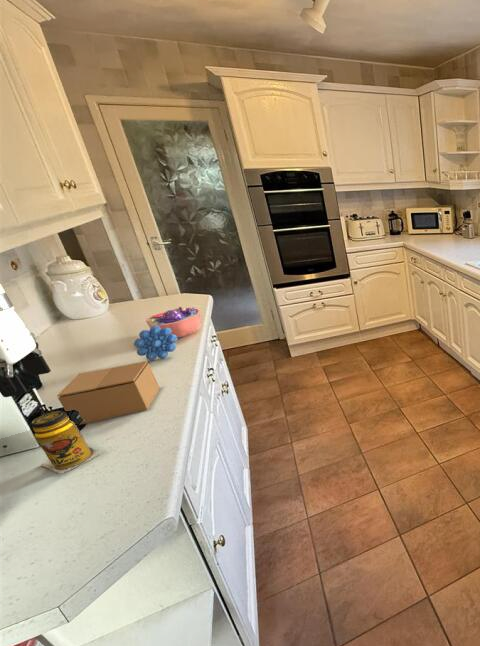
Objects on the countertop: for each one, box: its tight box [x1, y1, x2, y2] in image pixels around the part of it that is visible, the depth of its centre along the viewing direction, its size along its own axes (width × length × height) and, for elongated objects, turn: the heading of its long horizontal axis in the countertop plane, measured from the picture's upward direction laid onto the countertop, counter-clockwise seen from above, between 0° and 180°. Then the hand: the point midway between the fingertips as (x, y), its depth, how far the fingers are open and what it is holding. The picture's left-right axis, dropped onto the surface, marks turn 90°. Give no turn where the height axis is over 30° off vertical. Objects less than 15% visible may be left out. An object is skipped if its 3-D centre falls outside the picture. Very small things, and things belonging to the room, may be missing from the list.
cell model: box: [145, 306, 202, 339], centre depth 155 cm, size 17×20×11 cm
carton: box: [57, 360, 160, 426], centre depth 108 cm, size 15×13×9 cm
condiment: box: [30, 410, 104, 475], centre depth 88 cm, size 7×8×12 cm
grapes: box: [133, 326, 178, 361], centre depth 136 cm, size 12×7×12 cm, turn 125°
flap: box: [57, 366, 115, 397], centre depth 105 cm, size 7×13×1 cm, turn 28°
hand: (29, 383), depth 82 cm, fingers open, 9 cm apart
